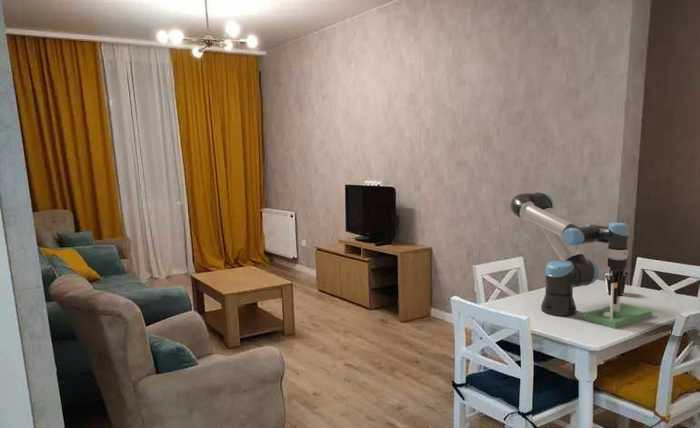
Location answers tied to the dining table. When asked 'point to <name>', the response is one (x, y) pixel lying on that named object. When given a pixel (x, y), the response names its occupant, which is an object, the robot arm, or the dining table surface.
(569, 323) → the dining table surface
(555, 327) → the dining table surface
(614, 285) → the flag pin
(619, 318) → the mat
